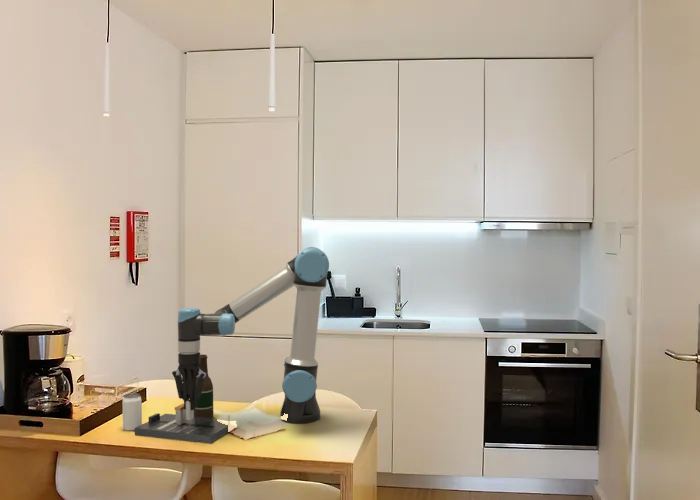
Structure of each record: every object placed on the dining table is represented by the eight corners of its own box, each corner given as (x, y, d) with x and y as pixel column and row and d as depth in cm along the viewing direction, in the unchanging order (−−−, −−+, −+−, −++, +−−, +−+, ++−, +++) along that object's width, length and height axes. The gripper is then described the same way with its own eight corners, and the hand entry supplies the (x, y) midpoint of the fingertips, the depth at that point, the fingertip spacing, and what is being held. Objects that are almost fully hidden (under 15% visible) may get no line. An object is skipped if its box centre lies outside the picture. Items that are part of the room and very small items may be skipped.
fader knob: (189, 420, 223) (188, 404, 223) (180, 424, 218) (180, 408, 218) (183, 419, 224) (183, 403, 224) (174, 424, 219) (174, 407, 219)
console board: (237, 427, 224) (236, 415, 224) (210, 443, 207) (210, 430, 207) (165, 420, 234) (165, 408, 234) (134, 435, 217) (134, 422, 216)
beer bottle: (216, 415, 239) (215, 353, 239) (210, 421, 231) (209, 357, 231) (197, 415, 240) (196, 353, 239) (189, 421, 232) (189, 357, 232)
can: (135, 431, 220) (135, 398, 220) (119, 430, 222) (118, 397, 221) (145, 426, 227) (144, 393, 226) (129, 425, 228) (128, 392, 228)
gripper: (211, 351, 221) (211, 417, 221) (179, 349, 225) (180, 414, 225) (199, 355, 213) (200, 423, 214) (167, 353, 218) (167, 420, 218)
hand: (189, 418), depth 220 cm, fingers closed
